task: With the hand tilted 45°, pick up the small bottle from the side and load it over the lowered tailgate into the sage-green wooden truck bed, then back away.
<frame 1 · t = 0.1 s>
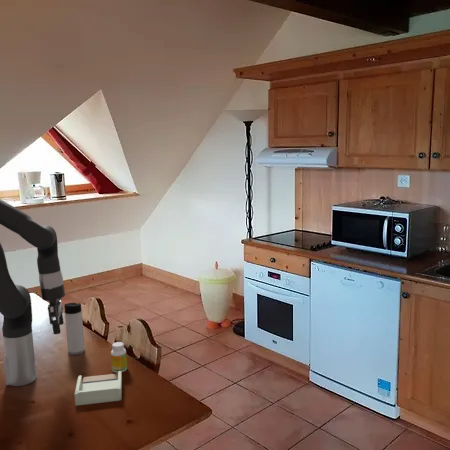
hand: (58, 329, 167), 17 cm above the table, tool pointing down, fingers open, 8 cm apart
travel mug: (76, 352, 189), on the table
supplement bottle: (119, 370, 173), on the table
truck bed: (99, 392, 158), on the table
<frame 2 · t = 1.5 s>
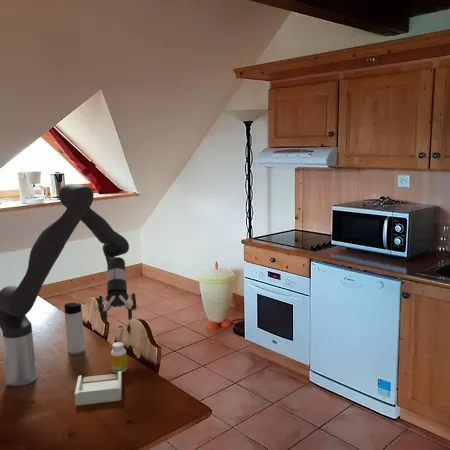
hand: (117, 320, 182), 14 cm above the table, tool tilted 45°, fingers open, 8 cm apart
nothing on the table moved.
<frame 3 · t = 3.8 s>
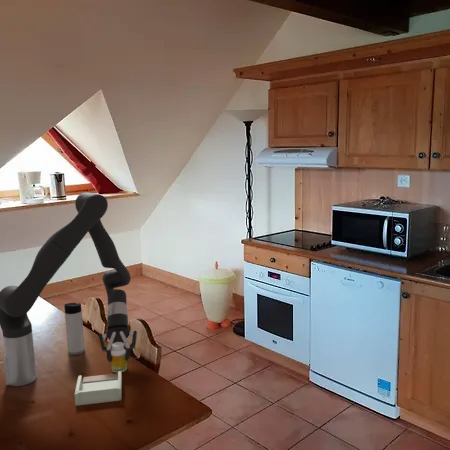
hand: (118, 360, 171), 4 cm above the table, tool tilted 45°, fingers closed on supplement bottle, 5 cm apart
supplement bottle: (119, 370, 173), on the table, touching gripper
everything else where it was.
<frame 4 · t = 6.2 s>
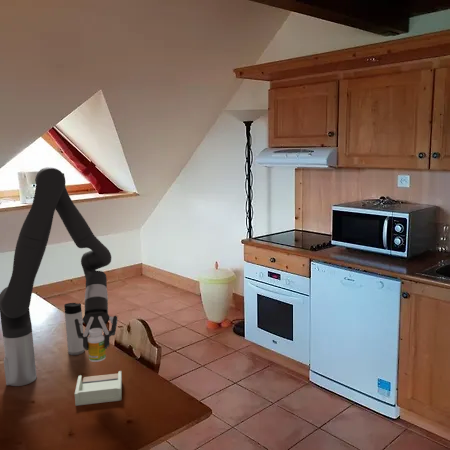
hand: (96, 348, 154), 16 cm above the table, tool tilted 45°, fingers closed on supplement bottle, 5 cm apart
supplement bottle: (97, 359, 156), point 12 cm above the table, touching gripper
everything else where it was.
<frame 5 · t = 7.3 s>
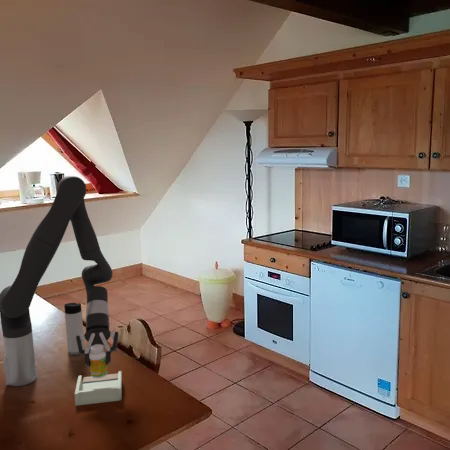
hand: (98, 365, 154), 10 cm above the table, tool tilted 45°, fingers closed on supplement bottle, 5 cm apart
supplement bottle: (99, 375, 157), point 6 cm above the table, touching gripper
everything else where it was.
when the fingers open (7 cm above the table, at t = 8.4 s): supplement bottle drops 1 cm, resting on truck bed.
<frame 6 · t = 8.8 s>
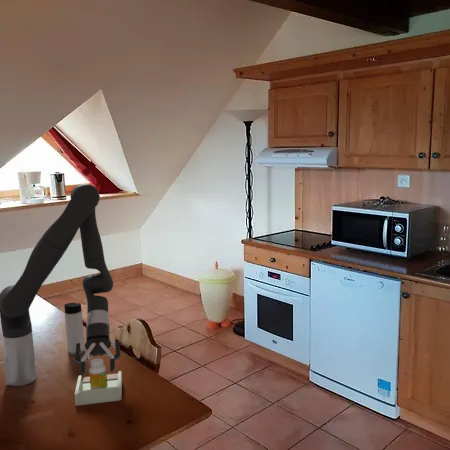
hand: (98, 373, 155), 7 cm above the table, tool tilted 45°, fingers open, 8 cm apart
supplement bottle: (99, 389, 158), point 1 cm above the table, touching truck bed
everything else where it was.
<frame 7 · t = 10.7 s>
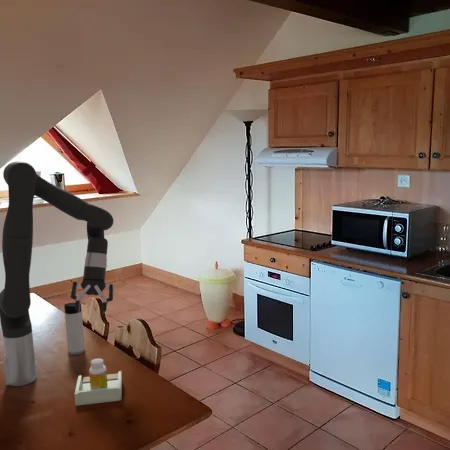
hand: (90, 312, 169), 22 cm above the table, tool tilted 20°, fingers open, 8 cm apart
nothing on the table moved.
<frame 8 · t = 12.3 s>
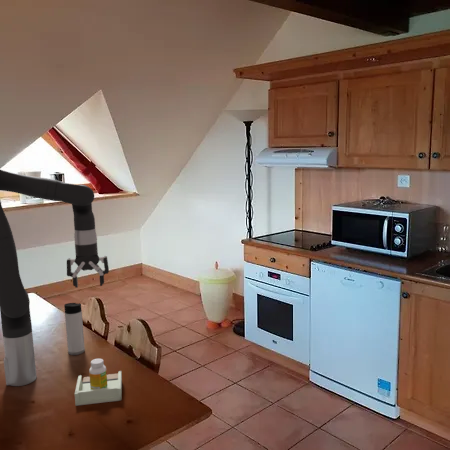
hand: (89, 286, 172), 30 cm above the table, tool pointing down, fingers open, 8 cm apart
nothing on the table moved.
at the end: supplement bottle inside the target area on the truck bed (0.7 cm from its centre), point 1.0 cm above the truck bed's base; supplement bottle tilted 0°; the gripper is holding nothing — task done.
